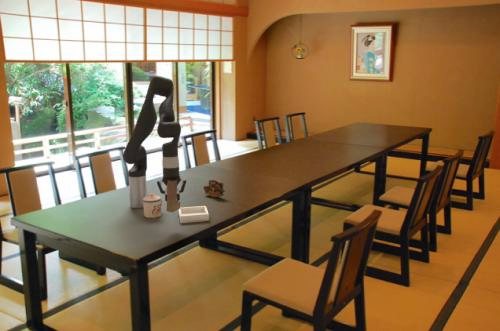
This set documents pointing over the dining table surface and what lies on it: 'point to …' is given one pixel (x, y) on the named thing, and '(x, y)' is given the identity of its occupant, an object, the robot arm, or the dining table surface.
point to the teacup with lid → (152, 206)
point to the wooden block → (172, 196)
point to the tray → (193, 214)
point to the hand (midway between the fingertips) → (172, 201)
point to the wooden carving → (214, 188)
